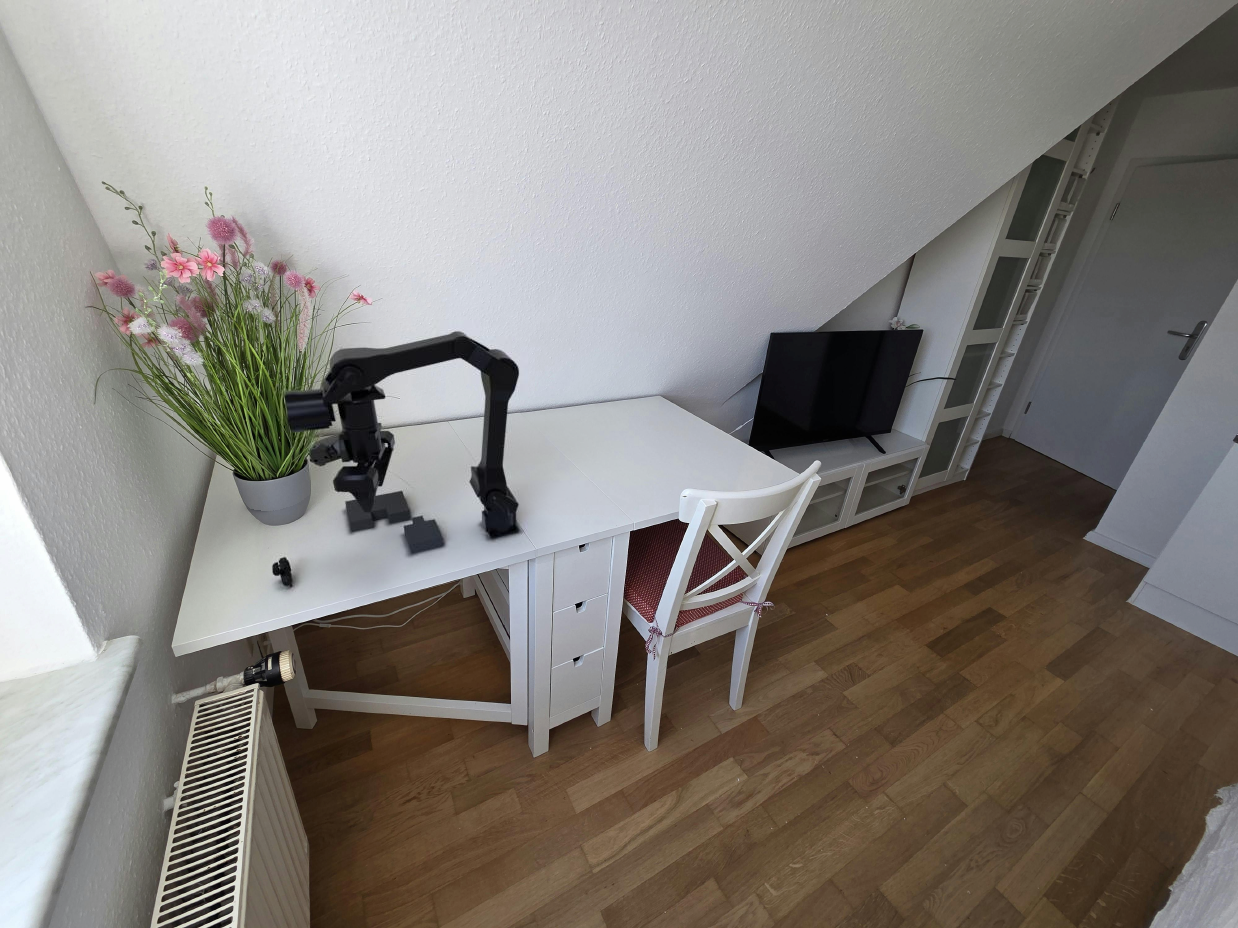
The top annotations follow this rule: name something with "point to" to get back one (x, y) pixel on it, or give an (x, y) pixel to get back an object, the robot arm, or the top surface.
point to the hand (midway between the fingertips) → (374, 498)
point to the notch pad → (378, 511)
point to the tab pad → (422, 535)
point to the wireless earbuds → (283, 571)
